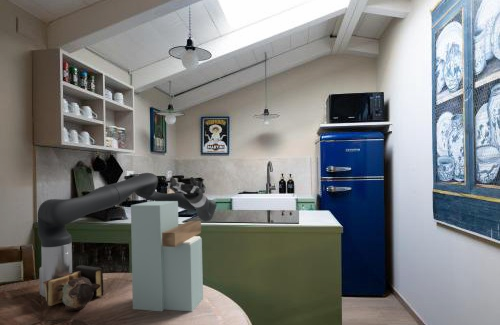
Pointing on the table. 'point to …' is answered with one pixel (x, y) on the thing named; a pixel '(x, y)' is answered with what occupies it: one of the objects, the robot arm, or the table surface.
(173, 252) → the stand
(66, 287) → the bookend
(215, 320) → the table surface
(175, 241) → the walnut bar
